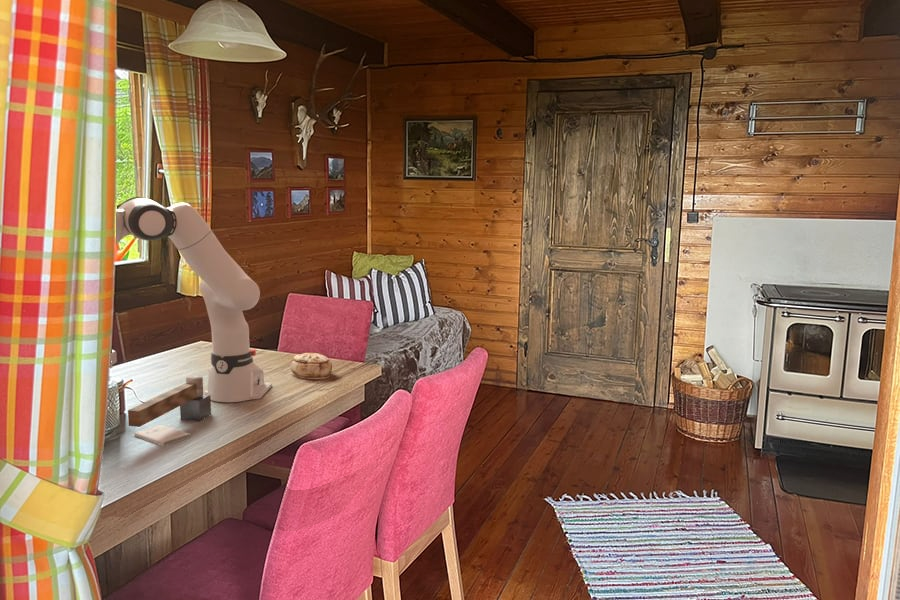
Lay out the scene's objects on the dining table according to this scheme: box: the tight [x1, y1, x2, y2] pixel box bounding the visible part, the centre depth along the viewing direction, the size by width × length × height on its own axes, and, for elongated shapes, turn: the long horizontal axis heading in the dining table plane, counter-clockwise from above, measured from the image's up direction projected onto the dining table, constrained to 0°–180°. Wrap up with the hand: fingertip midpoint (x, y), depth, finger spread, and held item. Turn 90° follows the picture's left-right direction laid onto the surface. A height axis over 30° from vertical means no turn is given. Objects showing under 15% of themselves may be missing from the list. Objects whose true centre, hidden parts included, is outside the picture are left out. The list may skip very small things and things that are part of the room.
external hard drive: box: [134, 424, 192, 447], centre depth 189 cm, size 2×8×12 cm
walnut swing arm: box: [127, 375, 204, 428], centre depth 191 cm, size 30×4×5 cm, turn 168°
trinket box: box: [289, 352, 333, 380], centre depth 251 cm, size 13×15×8 cm
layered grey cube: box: [179, 393, 212, 422], centre depth 205 cm, size 6×6×6 cm
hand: (109, 366), depth 187 cm, fingers closed
